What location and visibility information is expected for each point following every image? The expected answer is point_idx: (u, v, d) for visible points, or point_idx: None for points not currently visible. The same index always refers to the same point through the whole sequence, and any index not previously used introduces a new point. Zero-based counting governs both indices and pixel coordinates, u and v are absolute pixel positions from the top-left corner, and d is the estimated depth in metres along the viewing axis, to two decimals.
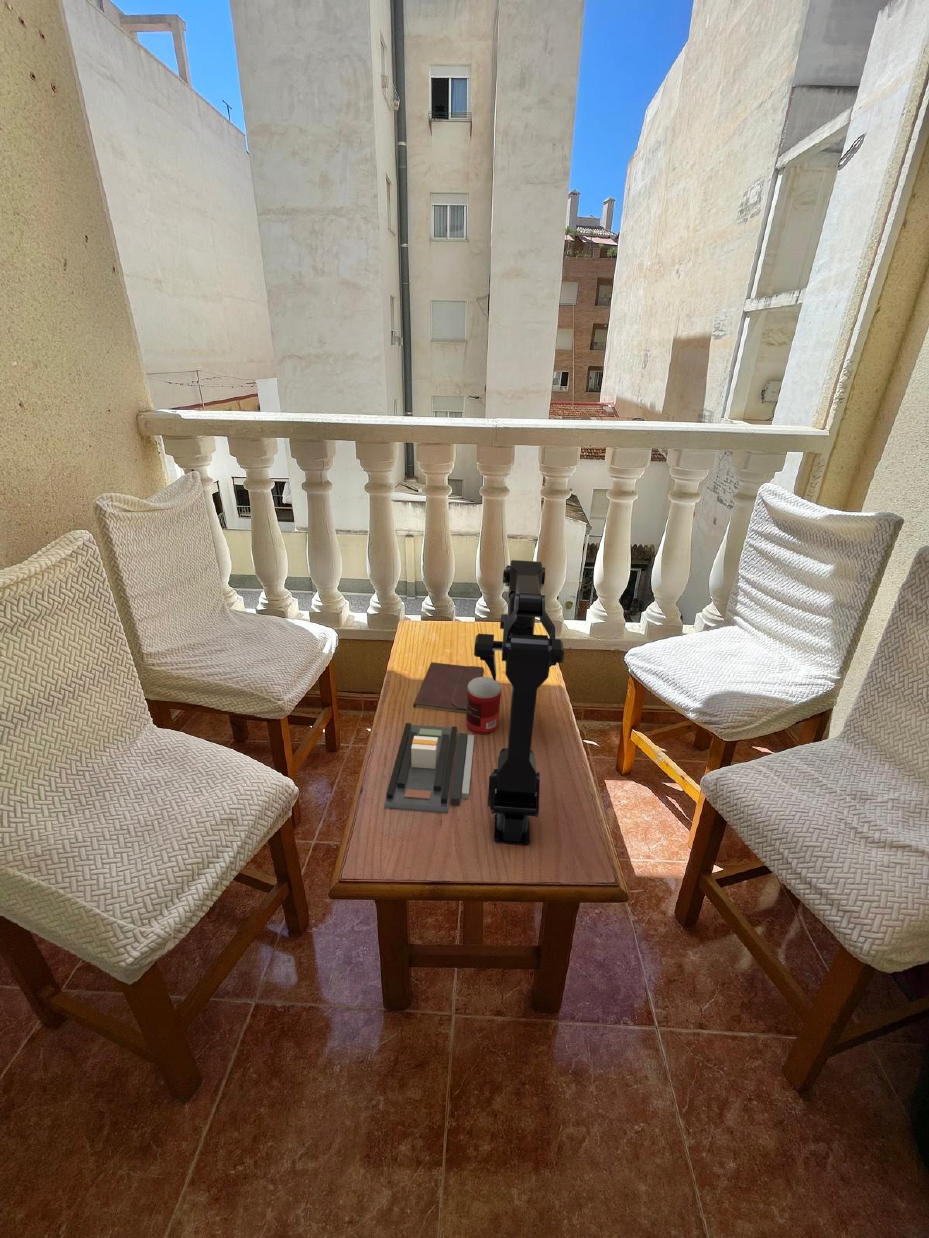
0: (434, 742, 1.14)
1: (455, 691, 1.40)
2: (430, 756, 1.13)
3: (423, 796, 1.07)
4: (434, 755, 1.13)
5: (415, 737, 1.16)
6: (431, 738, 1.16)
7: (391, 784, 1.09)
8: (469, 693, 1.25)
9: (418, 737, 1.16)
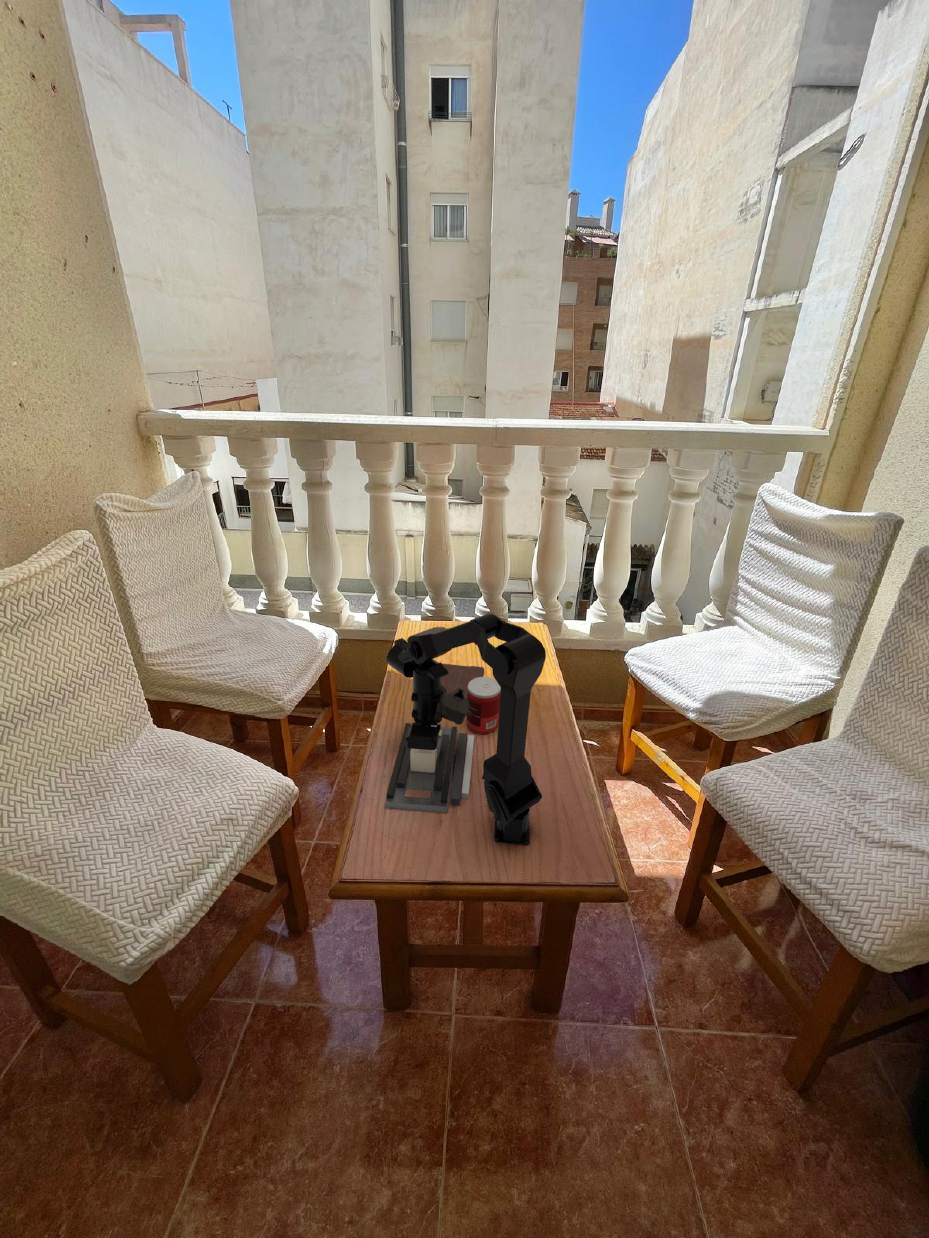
0: None
1: None
2: (429, 760, 1.12)
3: (423, 796, 1.07)
4: (433, 759, 1.12)
5: None
6: None
7: (391, 784, 1.09)
8: (469, 693, 1.25)
9: None
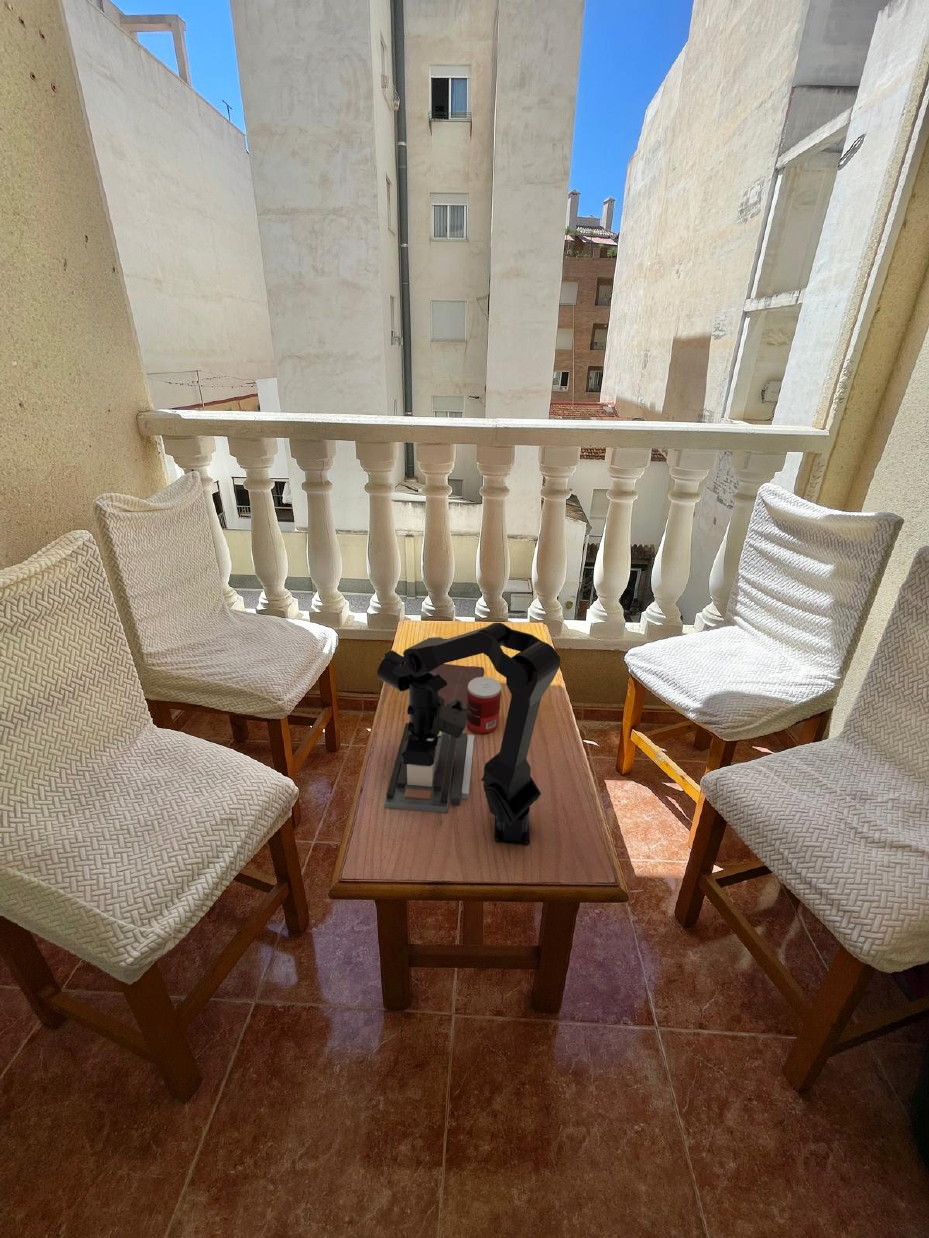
0: None
1: (456, 691, 1.40)
2: (427, 774, 1.09)
3: (423, 796, 1.07)
4: (431, 773, 1.09)
5: None
6: None
7: (391, 784, 1.09)
8: (469, 693, 1.25)
9: None
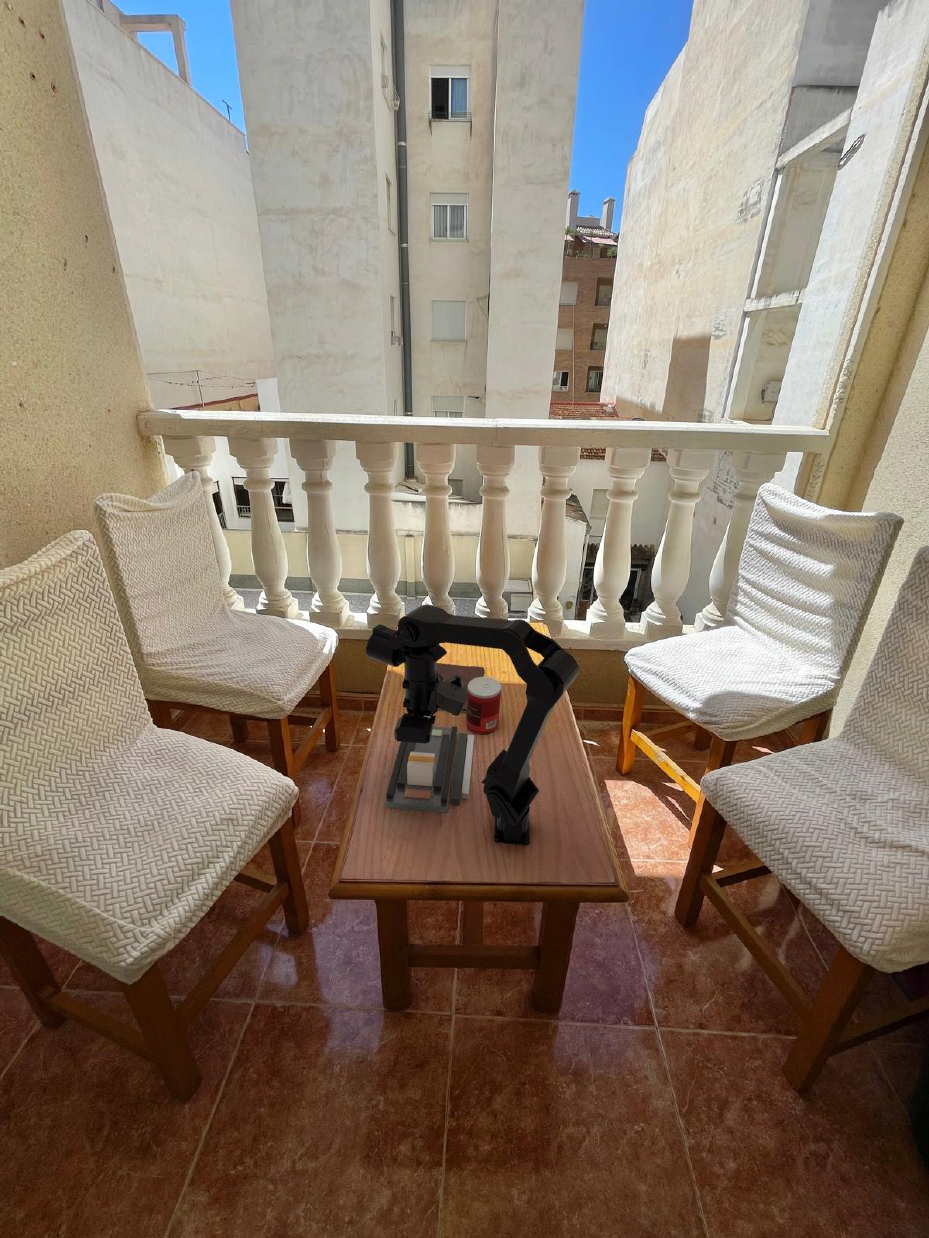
0: (431, 759, 1.10)
1: None
2: (427, 773, 1.09)
3: (423, 796, 1.07)
4: (431, 772, 1.09)
5: (411, 753, 1.11)
6: (428, 754, 1.11)
7: (391, 784, 1.09)
8: (469, 693, 1.25)
9: (414, 753, 1.11)
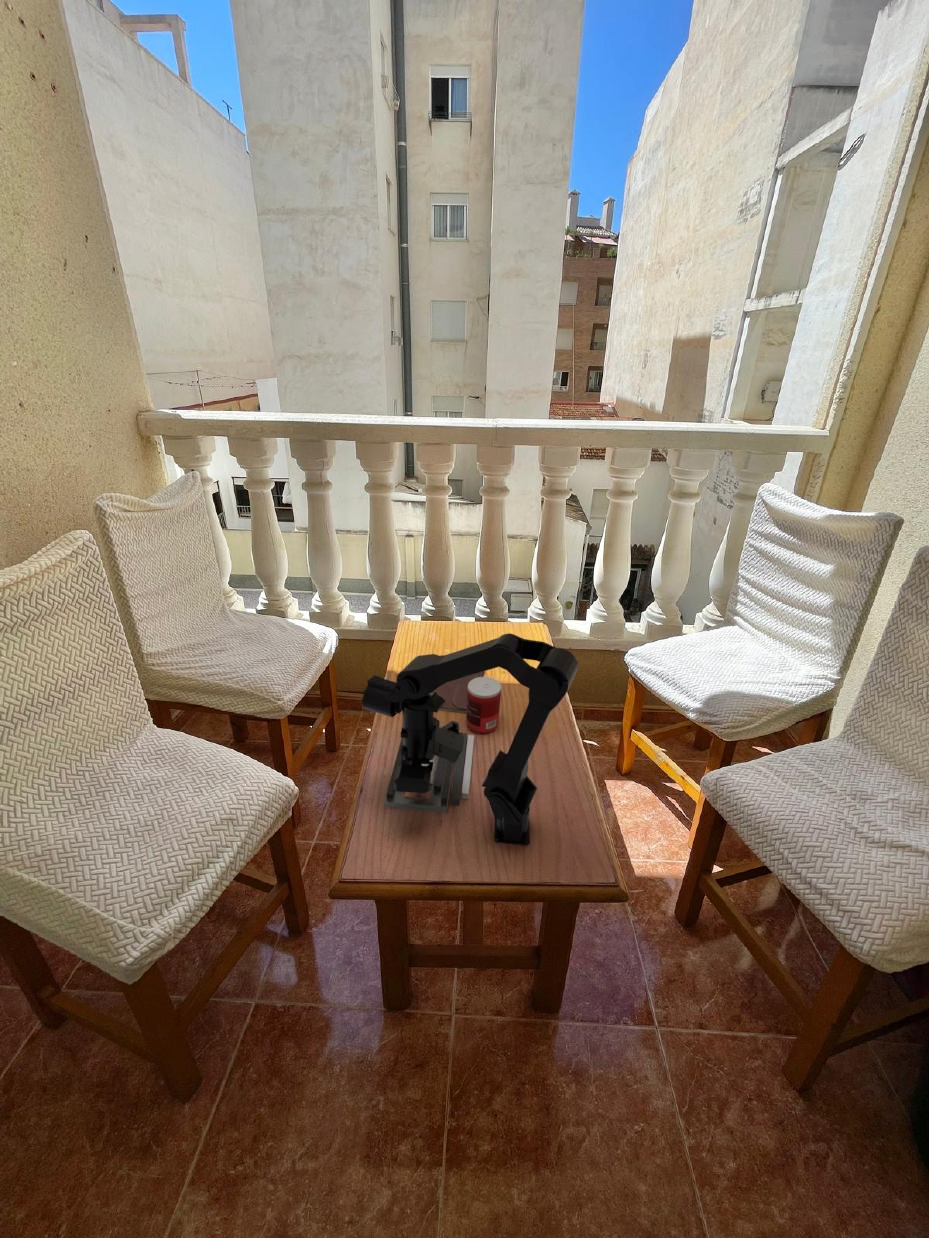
0: None
1: (456, 691, 1.40)
2: None
3: (423, 796, 1.07)
4: None
5: None
6: None
7: (391, 784, 1.09)
8: (469, 693, 1.25)
9: None
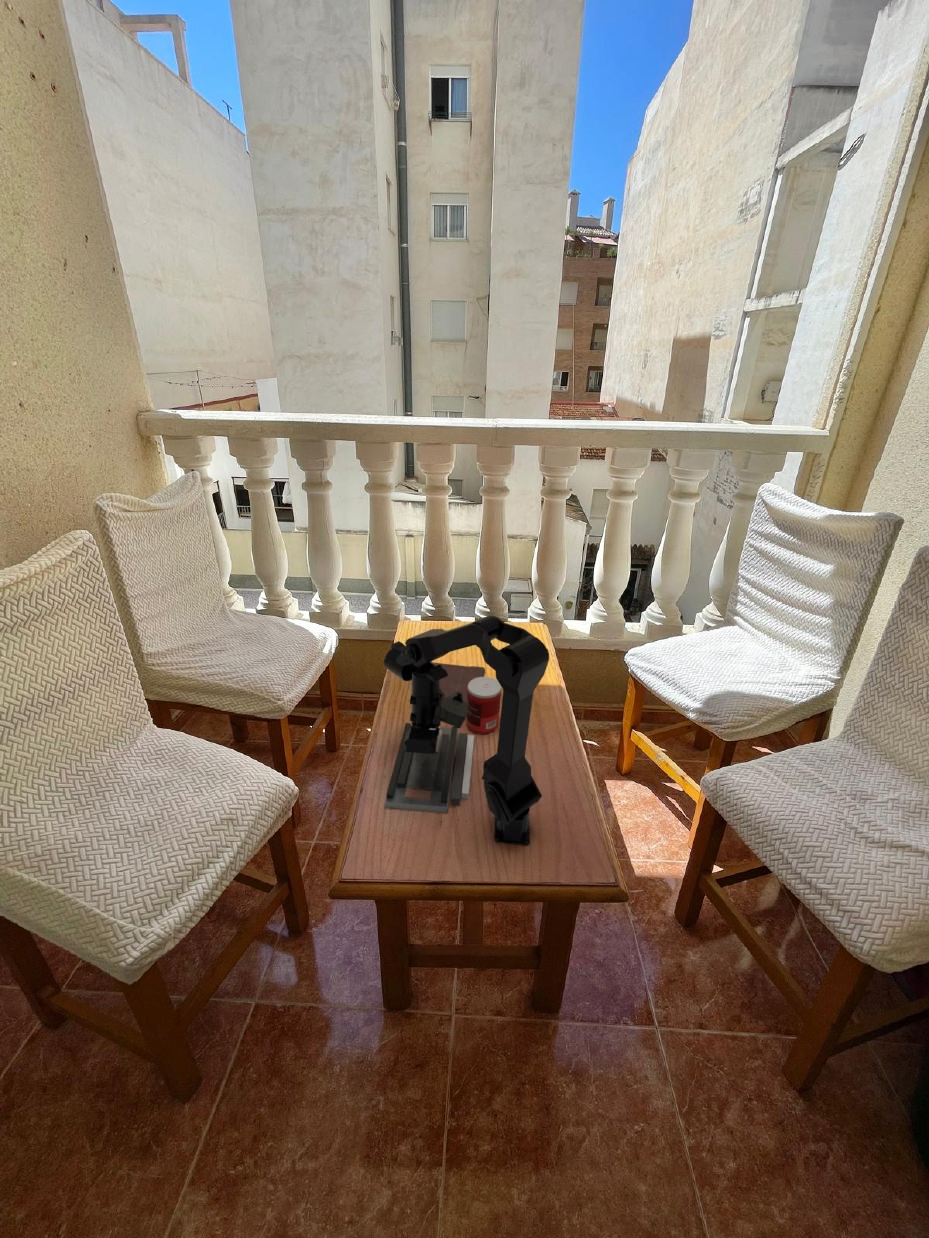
0: None
1: None
2: None
3: (423, 796, 1.07)
4: (437, 739, 1.18)
5: None
6: None
7: (391, 784, 1.09)
8: (469, 693, 1.25)
9: None
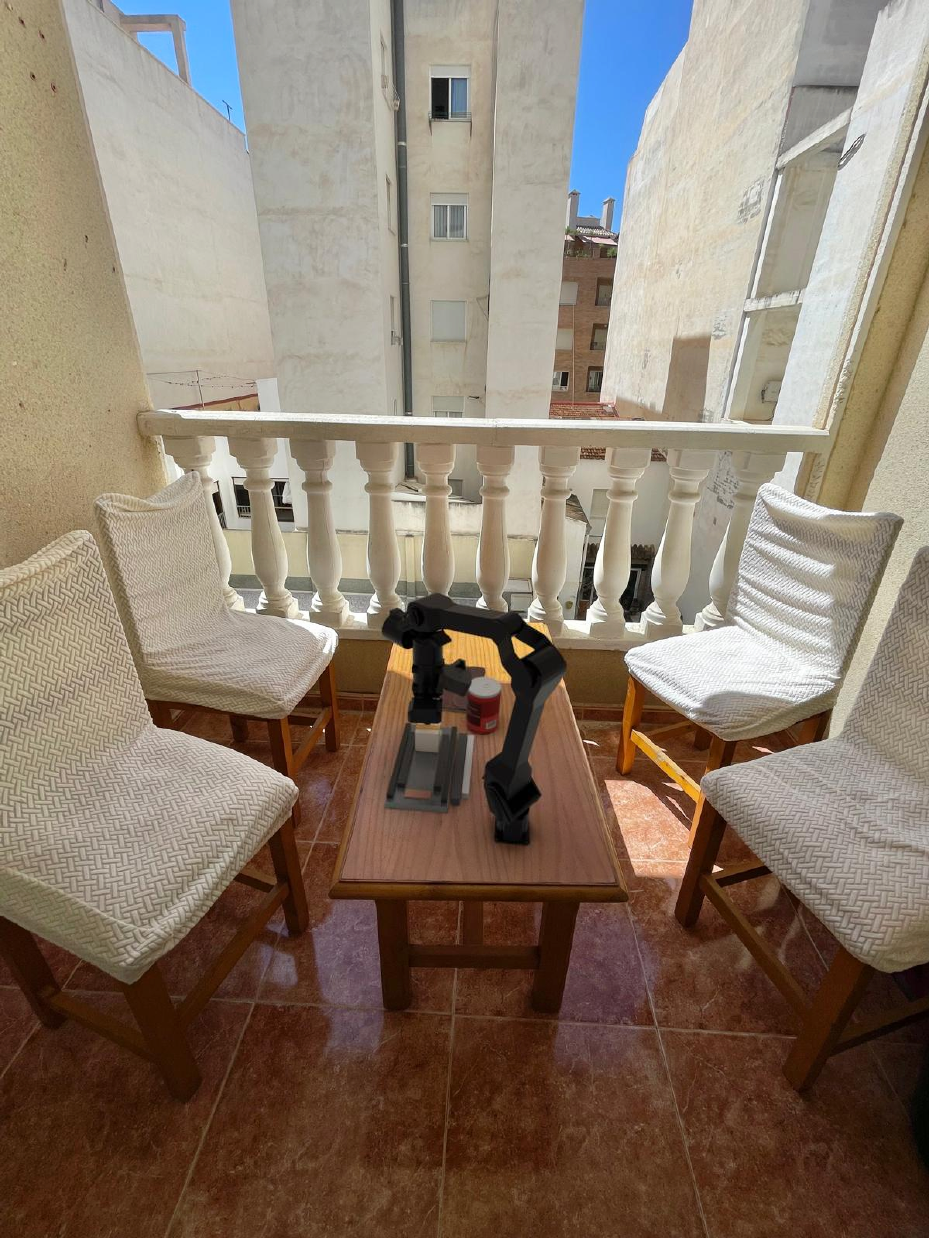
0: (437, 727, 1.19)
1: None
2: (433, 740, 1.18)
3: (423, 796, 1.07)
4: (437, 739, 1.18)
5: None
6: None
7: (391, 784, 1.09)
8: (469, 693, 1.25)
9: None
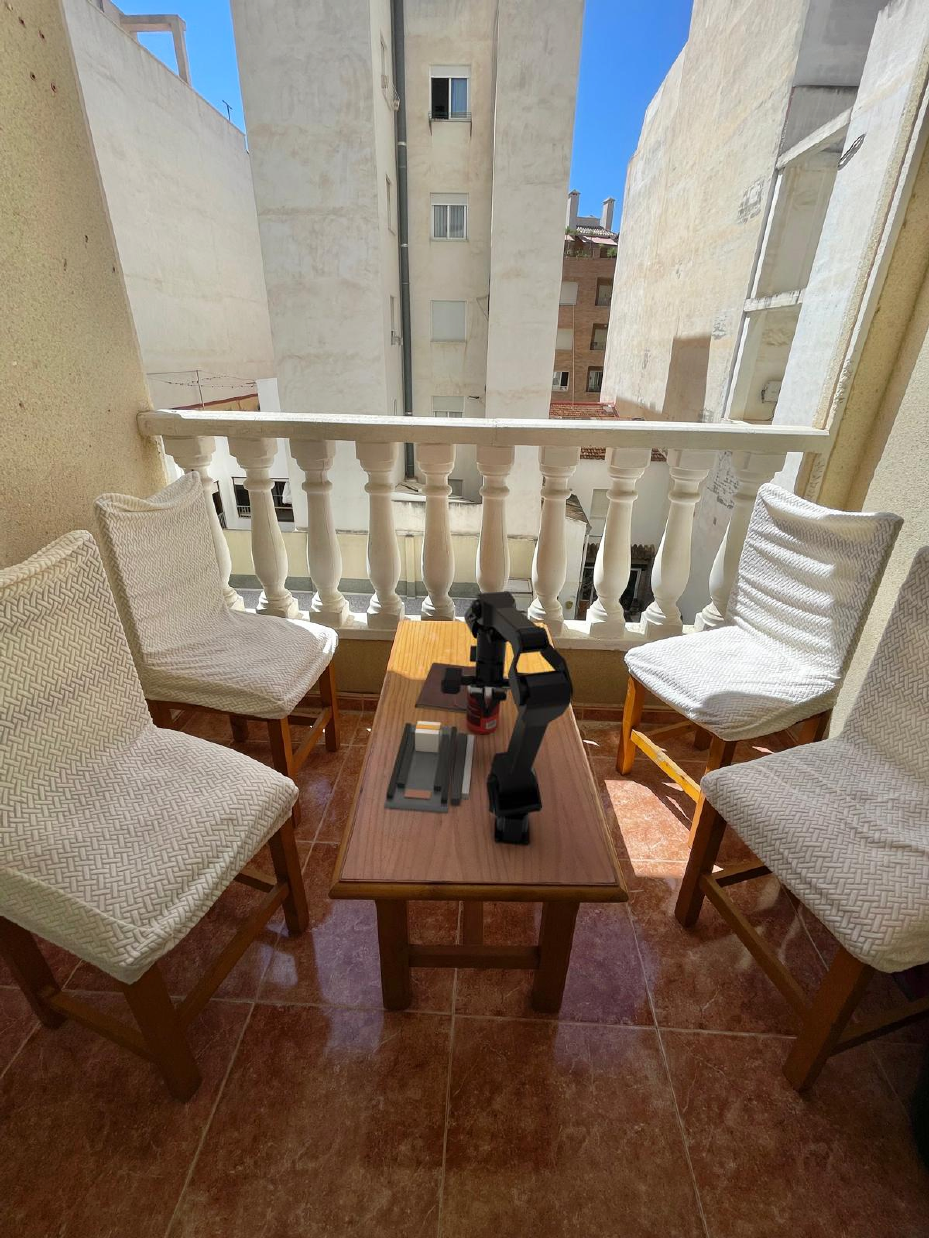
0: (437, 727, 1.19)
1: None
2: (433, 740, 1.18)
3: (423, 796, 1.07)
4: (437, 739, 1.18)
5: (419, 722, 1.20)
6: (434, 723, 1.20)
7: (391, 784, 1.09)
8: (469, 693, 1.25)
9: (421, 722, 1.20)
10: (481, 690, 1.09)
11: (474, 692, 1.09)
